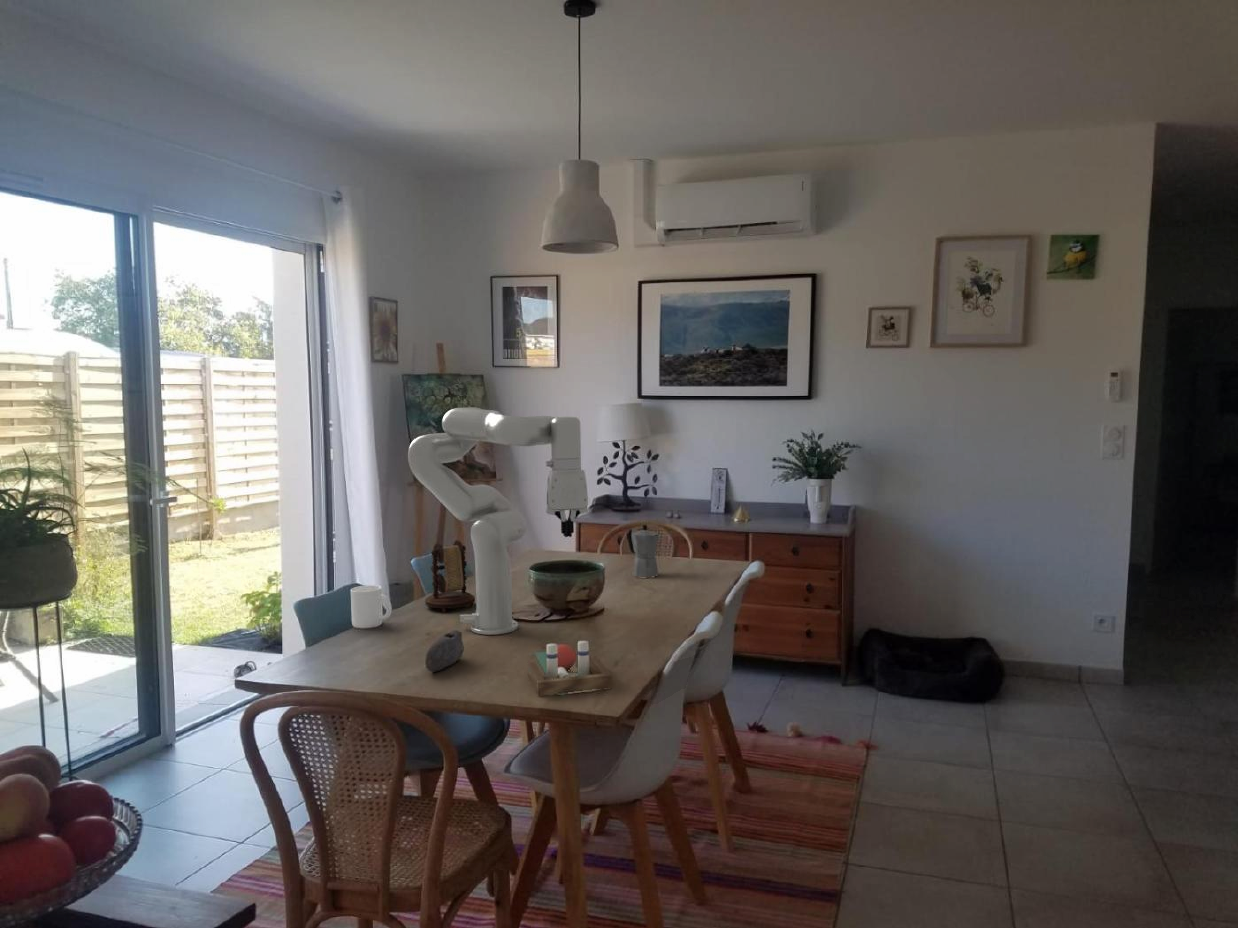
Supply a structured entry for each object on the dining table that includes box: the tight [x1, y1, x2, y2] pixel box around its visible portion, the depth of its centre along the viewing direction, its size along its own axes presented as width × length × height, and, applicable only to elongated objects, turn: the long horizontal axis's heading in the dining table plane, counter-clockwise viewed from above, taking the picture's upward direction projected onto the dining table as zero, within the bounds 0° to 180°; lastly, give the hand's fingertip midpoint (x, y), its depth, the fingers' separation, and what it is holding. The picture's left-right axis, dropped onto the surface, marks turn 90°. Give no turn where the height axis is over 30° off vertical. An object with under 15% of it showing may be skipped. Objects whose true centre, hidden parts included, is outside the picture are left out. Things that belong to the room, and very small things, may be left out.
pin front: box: [558, 667, 570, 678], centre depth 182 cm, size 2×2×8 cm
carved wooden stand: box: [424, 539, 476, 614], centre depth 250 cm, size 15×15×20 cm
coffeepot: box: [626, 524, 661, 577], centre depth 290 cm, size 15×9×18 cm, turn 44°
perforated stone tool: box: [424, 630, 465, 673], centre depth 195 cm, size 15×5×7 cm, turn 161°
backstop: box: [527, 655, 613, 697], centre depth 184 cm, size 16×14×3 cm
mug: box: [350, 584, 392, 629], centre depth 231 cm, size 12×8×10 cm
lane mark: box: [534, 651, 578, 696], centre depth 191 cm, size 30×8×1 cm, turn 15°
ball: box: [557, 643, 577, 670], centre depth 191 cm, size 6×6×6 cm
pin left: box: [546, 643, 558, 679], centre depth 183 cm, size 2×2×8 cm
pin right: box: [577, 640, 590, 676], centre depth 185 cm, size 2×2×8 cm
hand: (567, 535), depth 214 cm, fingers closed
